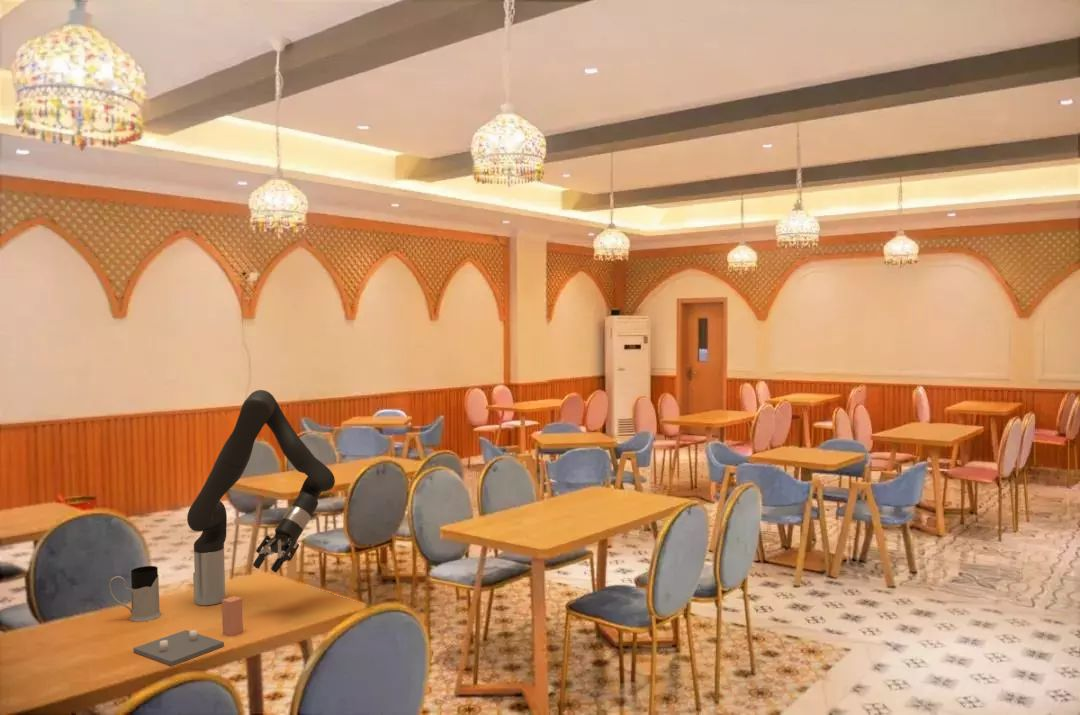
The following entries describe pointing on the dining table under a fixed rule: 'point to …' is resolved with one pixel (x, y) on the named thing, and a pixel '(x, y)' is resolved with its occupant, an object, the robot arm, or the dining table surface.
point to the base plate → (178, 647)
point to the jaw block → (232, 616)
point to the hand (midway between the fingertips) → (264, 569)
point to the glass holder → (143, 593)
